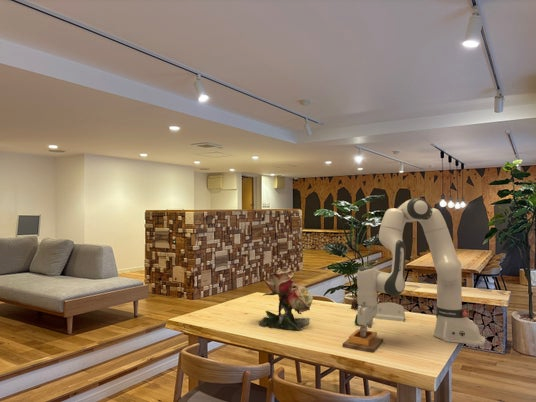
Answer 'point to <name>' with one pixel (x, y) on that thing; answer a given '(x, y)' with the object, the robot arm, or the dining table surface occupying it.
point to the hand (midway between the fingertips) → (367, 329)
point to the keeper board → (371, 348)
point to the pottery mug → (354, 304)
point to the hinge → (390, 312)
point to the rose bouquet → (287, 302)
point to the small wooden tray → (358, 340)
